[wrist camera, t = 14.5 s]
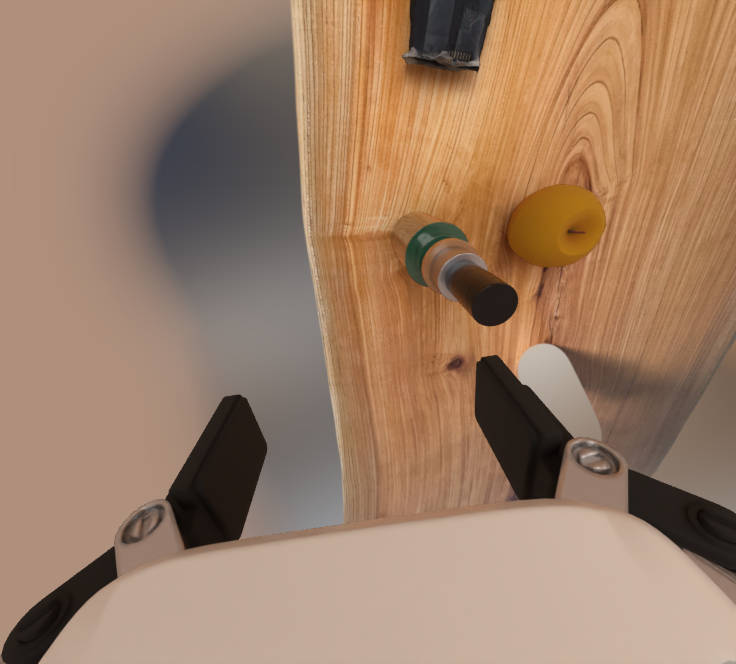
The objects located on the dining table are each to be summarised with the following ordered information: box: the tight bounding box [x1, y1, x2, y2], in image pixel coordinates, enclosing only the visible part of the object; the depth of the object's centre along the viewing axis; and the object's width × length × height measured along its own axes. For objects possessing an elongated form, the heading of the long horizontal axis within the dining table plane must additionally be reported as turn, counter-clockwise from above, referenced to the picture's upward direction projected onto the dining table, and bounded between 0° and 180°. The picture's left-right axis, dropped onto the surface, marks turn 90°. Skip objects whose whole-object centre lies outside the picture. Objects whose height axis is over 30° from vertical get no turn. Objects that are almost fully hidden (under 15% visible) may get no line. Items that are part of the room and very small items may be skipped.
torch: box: [430, 246, 518, 326], centre depth 23 cm, size 4×4×9 cm
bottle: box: [391, 212, 478, 294], centre depth 34 cm, size 7×7×17 cm
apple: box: [507, 184, 606, 267], centre depth 36 cm, size 10×10×12 cm
